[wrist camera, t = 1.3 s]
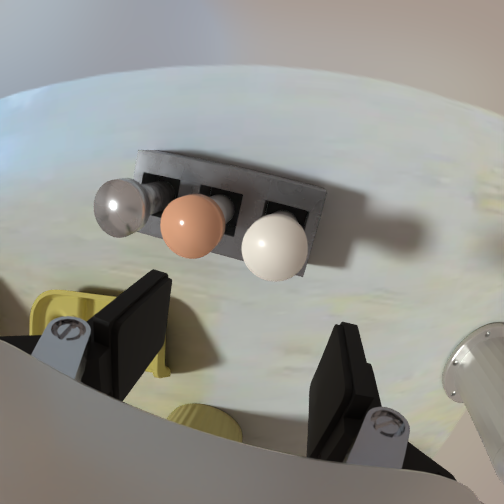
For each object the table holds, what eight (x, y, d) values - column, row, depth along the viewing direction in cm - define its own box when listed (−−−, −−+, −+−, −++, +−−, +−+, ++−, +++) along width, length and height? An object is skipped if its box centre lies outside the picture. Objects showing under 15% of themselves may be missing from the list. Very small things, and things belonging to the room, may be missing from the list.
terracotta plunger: (248, 191, 29) (226, 204, 21) (237, 237, 31) (213, 265, 23) (202, 180, 30) (165, 190, 22) (194, 225, 31) (156, 249, 23)
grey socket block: (324, 188, 31) (326, 192, 27) (303, 263, 33) (302, 276, 30) (155, 150, 33) (138, 150, 29) (144, 221, 35) (126, 228, 31)
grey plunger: (186, 177, 30) (145, 185, 22) (178, 221, 31) (137, 244, 23) (146, 169, 30) (97, 175, 22) (140, 211, 32) (91, 230, 24)
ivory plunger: (312, 208, 29) (315, 227, 21) (299, 253, 30) (297, 288, 22) (265, 195, 29) (249, 210, 21) (254, 241, 31) (235, 271, 22)
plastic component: (160, 301, 35) (156, 387, 33) (178, 302, 42) (175, 375, 41) (31, 285, 36) (29, 356, 35) (61, 288, 44) (58, 352, 42)
